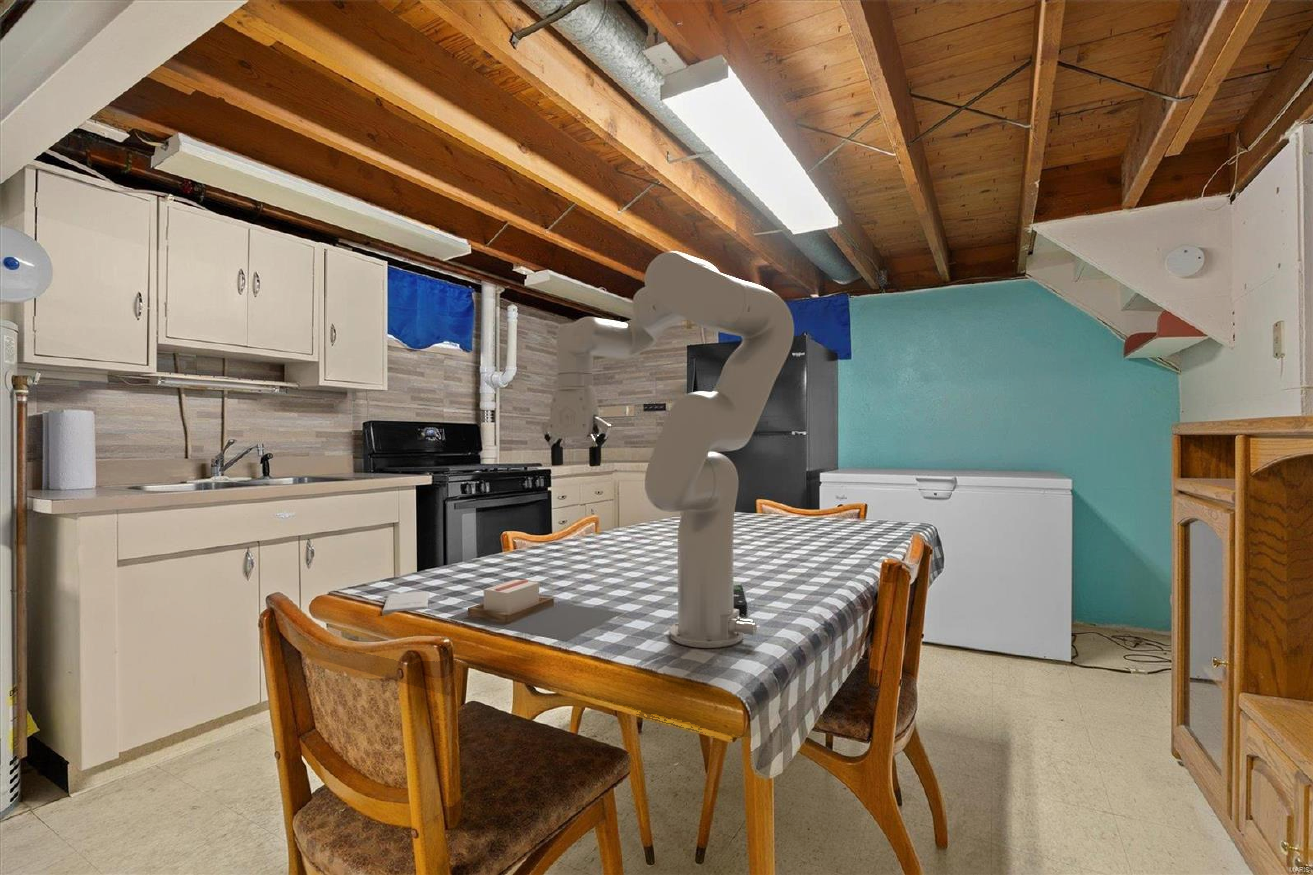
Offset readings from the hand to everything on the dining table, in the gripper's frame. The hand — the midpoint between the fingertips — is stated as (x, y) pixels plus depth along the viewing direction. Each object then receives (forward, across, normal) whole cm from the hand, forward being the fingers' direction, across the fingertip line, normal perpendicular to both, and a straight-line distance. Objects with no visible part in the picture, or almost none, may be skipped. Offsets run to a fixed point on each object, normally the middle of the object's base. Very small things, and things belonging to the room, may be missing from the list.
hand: (575, 465), depth 127 cm
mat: (+28, 0, -13) cm, 31 cm away
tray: (+28, -6, -13) cm, 31 cm away
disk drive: (+29, +27, +12) cm, 42 cm away
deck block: (+27, -6, -13) cm, 31 cm away
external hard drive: (+29, -30, -18) cm, 45 cm away
